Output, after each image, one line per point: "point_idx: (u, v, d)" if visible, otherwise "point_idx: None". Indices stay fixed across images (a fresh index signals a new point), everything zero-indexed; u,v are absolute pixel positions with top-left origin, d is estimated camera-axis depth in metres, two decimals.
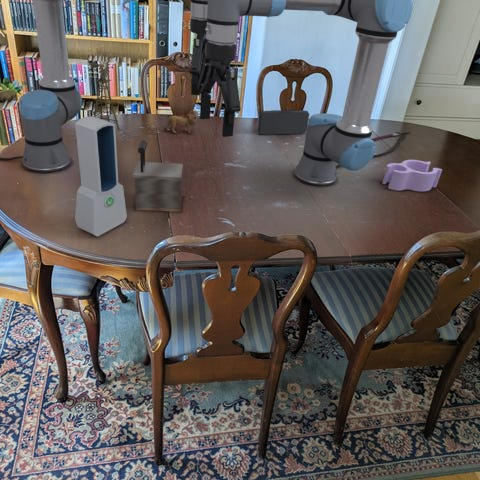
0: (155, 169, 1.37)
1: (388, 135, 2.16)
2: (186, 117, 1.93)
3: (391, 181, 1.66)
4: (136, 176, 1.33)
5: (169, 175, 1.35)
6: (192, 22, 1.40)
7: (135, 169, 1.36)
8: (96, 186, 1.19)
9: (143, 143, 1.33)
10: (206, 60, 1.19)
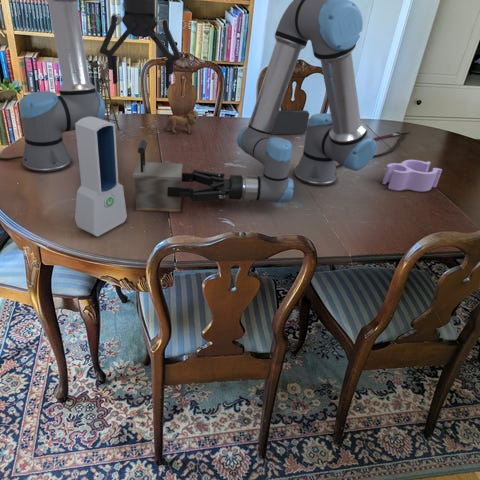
0: (155, 169, 1.37)
1: (388, 135, 2.16)
2: (186, 117, 1.93)
3: (391, 181, 1.66)
4: (136, 176, 1.33)
5: (169, 175, 1.35)
6: None
7: (135, 169, 1.36)
8: (96, 186, 1.19)
9: (143, 143, 1.33)
10: None
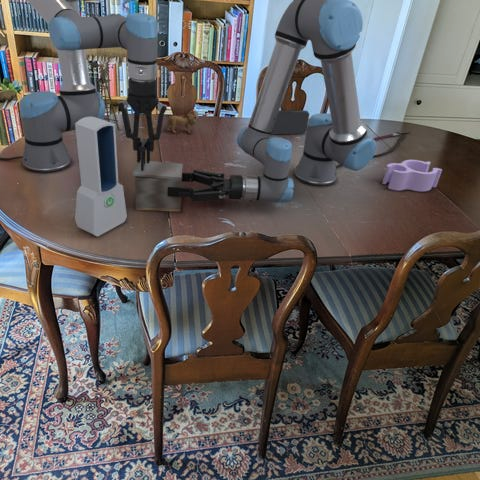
0: (155, 168, 1.37)
1: (388, 135, 2.16)
2: (186, 117, 1.93)
3: (391, 181, 1.66)
4: (136, 174, 1.33)
5: (169, 175, 1.35)
6: None
7: (135, 167, 1.36)
8: (96, 186, 1.19)
9: (144, 142, 1.33)
10: None
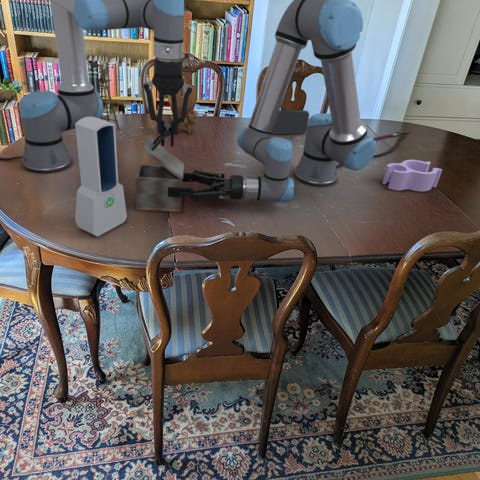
0: (162, 155, 1.35)
1: (388, 135, 2.16)
2: (186, 117, 1.93)
3: (391, 181, 1.66)
4: (146, 150, 1.29)
5: (173, 169, 1.34)
6: None
7: (146, 143, 1.32)
8: (96, 186, 1.19)
9: (170, 127, 1.31)
10: None
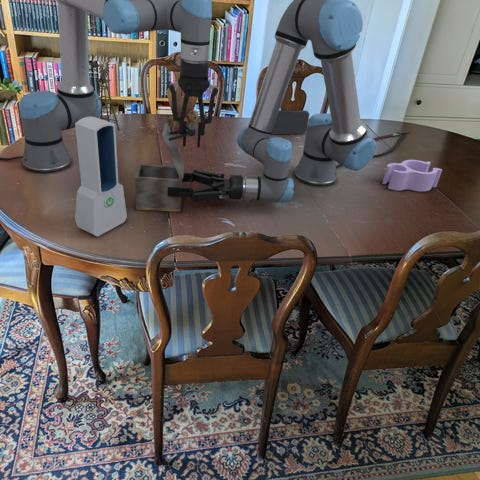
0: (174, 148, 1.34)
1: (388, 135, 2.16)
2: (186, 117, 1.93)
3: (391, 181, 1.66)
4: (165, 138, 1.28)
5: (179, 166, 1.34)
6: None
7: (166, 131, 1.31)
8: (96, 186, 1.19)
9: None
10: None
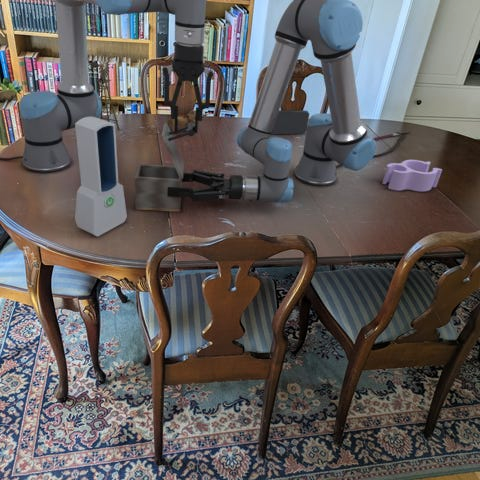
0: (173, 148, 1.34)
1: (388, 135, 2.16)
2: (186, 117, 1.93)
3: (391, 181, 1.66)
4: (164, 138, 1.28)
5: (178, 166, 1.34)
6: None
7: (166, 131, 1.31)
8: (96, 186, 1.19)
9: (194, 128, 1.32)
10: None
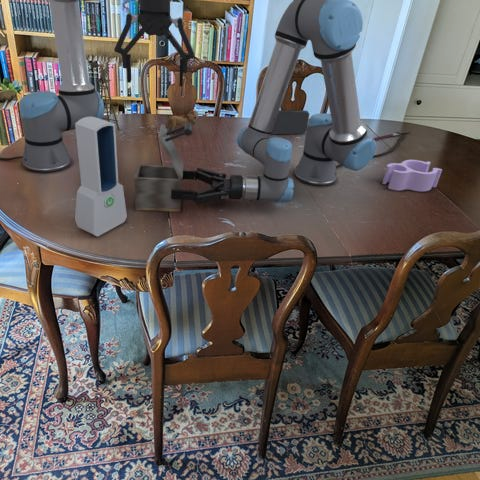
0: (171, 148, 1.34)
1: (388, 135, 2.16)
2: (186, 117, 1.93)
3: (391, 181, 1.66)
4: (161, 139, 1.28)
5: (177, 166, 1.34)
6: None
7: (162, 132, 1.31)
8: (96, 186, 1.19)
9: None
10: None
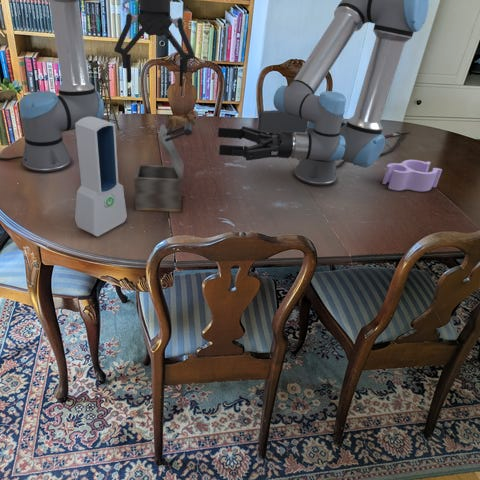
0: (171, 148, 1.34)
1: (388, 135, 2.16)
2: (186, 117, 1.93)
3: (391, 181, 1.66)
4: (161, 139, 1.28)
5: (177, 166, 1.34)
6: None
7: (162, 132, 1.31)
8: (96, 186, 1.19)
9: None
10: None
